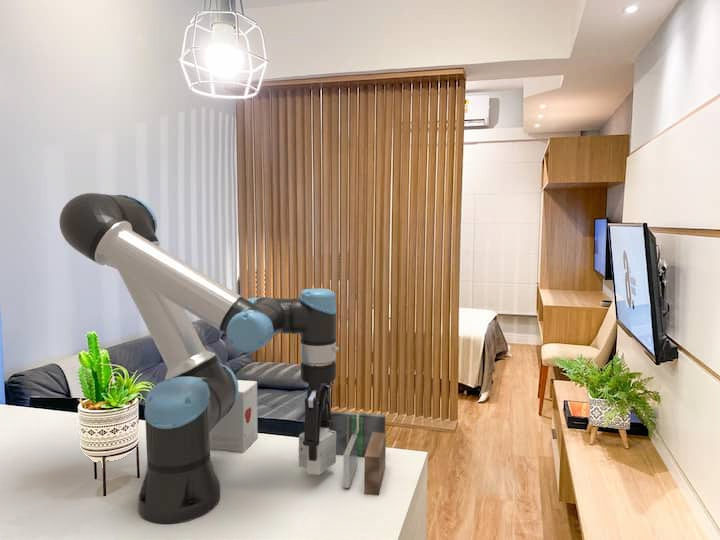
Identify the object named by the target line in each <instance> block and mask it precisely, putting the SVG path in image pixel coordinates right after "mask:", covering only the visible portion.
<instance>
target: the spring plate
mask: <svg viewBox="0 0 720 540" xmlns="http://www.w3.org/2000/svg"><path fill="white" fill-rule="evenodd" d="M359 432H360V428H359V414H357V427H356V430H355V432H354V435H352V436H351V438H350V441H349V443H348V445H347V448H346V450H345V453H344V455H343V488H347V489H348V488H350V486H351V484H352V481H353V477H354V475H355V473H356V472H355V471H356V469H357V467H358V456H357V437H358V434H359Z"/></svg>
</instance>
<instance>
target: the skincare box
mask: <svg viewBox="0 0 720 540" xmlns="http://www.w3.org/2000/svg"><path fill="white" fill-rule="evenodd" d="M304 432H305V431H303V432H301V433H300V434H299V435H298V468H302V469H305V470H307V446H305V445H303V442H304ZM319 443H321V473H320V475H321V474H323V473H324V472H326V470H329V468H330V467H332V466H334V465H335V464H336V457H337V455H336V431H332V430H330V429H329V430H328V429H326V428H320V437H319Z"/></svg>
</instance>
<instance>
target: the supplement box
mask: <svg viewBox="0 0 720 540" xmlns="http://www.w3.org/2000/svg"><path fill="white" fill-rule="evenodd" d="M237 382H238V396H237V399H236V401H235V403H234V405H233V407H232V408H231V410H230V411H229V413H228V414H227V415H226V416H224V417H223V418H222V419H221V420H220V421H219V422H218V423H217V424H216V425H215V426H214V427H213V428H212V429H211V430H210V450H216V451H217V450H218V451H219V450H220V451H228V452H237V453H244V452H245V451H247V450H248V448H249V447H250V446H252V444H253V443H254V442H255V441H256V440H258V381H255V380H243V379H242V380H240V379H237Z"/></svg>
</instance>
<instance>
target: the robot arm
mask: <svg viewBox="0 0 720 540" xmlns="http://www.w3.org/2000/svg"><path fill="white" fill-rule="evenodd" d="M59 228H60V232H61V234H62V236H63V238H64V240H65V242H67V243H68V245H70V246H71V248H73V249H74V250H75V251H76V252H78V253H80V254H81V255H82V256H85V257H86V258H88V260H91V261H93V262H94V263H96V264H98V265H100V266H105V265H106V266H107V267H111V268H113V269H116V270H117V271H118V273H119V275H120V277H121V279H122V281H123V283H124V285H125V286H126V289H127V291H128V292H129V294H130V296H131V299H132V301H133V302H134V304H135V306H136V309H137V310H138V313H139V314H140V316H141V318H142V320H143V322H144V324H145V326H146V329H147V330H148V332H149V335H150V336H151V338H152V340H153V342H154V344H155V346H156V348H157V351H158V352H159V354H160V355H161V358H162V360H163V361H164V364H165V365H166V368H167V372H166V375H165V378H164V381H163V380H162V381H160V382H159V383H156V385H154V386H152V387H151V388H150V390H149V391H148V392H147V393H146V397H145V407H144V419H145V436H146V437H145V440H146V441H145V442H146V444H145V445H146V463H147V464H146V467H147V468H146V471H145V474H144V479H143V482H142V485H141V487H140V488H141V489H140V492H139V494H138V512H139V515H141V517H142V518H144V519H145V520H147V521H151V522H153V523H158V524H159V523H160V524H175V523H181V522H186V521H190V520H193V519H194V520H195V519H196V518H199V517H201V516H204V515H205V514H206V513H208V512H210V511H211V510H213V509H214V508H215V507H217V505H218V503H219V502H220V499H221V485H220V481H219V478H218V476H217V473H216V470H215V467H214V466H213V463H212V460H211V459H212V458H211V449H210V430H211V429H212V428H213V427H214V426H215V425H216V424H217V423H218V422H219V421H220V420H221V419H222V418H223V417H224V416H226V415H227V414H228V413H229V411H230V410H231V408H232V407H233V405H234V403H235V401H236V399H237V396H238V382H237V380H238V379H237V377H236V374H235V373H234V372H233V371H232V370H231V368H230V367H228V366H227V365H223V364H222V363H220V361H219V358H218V357H217V354H216V353H215V352H212V351H209V350H207V349H205V347H204V344H203V342H202V341H201V339H200V337H199V334H198V333H197V330H196V329H195V327H194V325H193V322H192V321H191V319H190V317H189V315H188V313H187V312H189V313H190V314H192V315H194V316H195V317H197V318H198V319H200V320H202V321H204V322H205V323H207V324H209V325H210V326H212V327H213V328H215V329H216V330H219V331H220V332H222V333H224V334H225V335H226V337H227V340H228V342H229V344H230V346H232V347H233V348H234V349H235V350H237V351H239V352H241V353H254V352H256V351H258V350H260V349H262V348H264V347H266V346H267V345H268V344H269V343H270V342H271V340H273V338H275V337H276V336H278V335H279V334H284V335H285V334H287V335H288V334H291V335H292V334H293V335H300V361H301V363H300V379H301V381H303V382H304V383H307V384H308V385H309V388H308V389H307V392H306V393H307V394H306V397H305V398H304V411H305V413H304V431H303V432H304V442H303V445H305V446H307V469H306V473H307V474H308V475H319V476H320V475H321V474H322V473H321V443H319V437H320V428H326V429H328V430H330V427H332V425H333V422H330V421H331V411H332V407H331V406H332V405H331V404H332V403H331V383H332V382H333V381H335V380H336V379H337V363H336V361H335V360H336V358H337V357H336V355H337V354H336V353H337V352H339V347H338V346H336V345H337V343H336V342H337V313H338V311H337V304H336V302H337V300H336V293H335V292H334V291H333V290H331V289H328V288H321V287H320V288H319V287H318V288H306V289H305V288H304V289H303V290H301V291H300V296H299V297H297V298H279V297H264V296H261V297H250V298H249V297H248V299H246V298H244V297H243V296H242V295H240V294H238V293H236V292H235V291H233V290H232V289H230V288H229V287H227V286H225V285H224V284H221V283H220V282H218V281H217V280H215V279H213V277H210V276H209V275H207V274H205V273H203V272H202V271H200V270H198V269H197V268H196V267H193V266H192V265H190V264H189V263H187V262H185V261H183V260H181V258H178V257H177V256H175V255H174V254H172V253H170V252H169V251H167V250H165V249H163V248H162V247H160V244H161V243H160V240H159V239H158V236H157V235H156V233H157V229H158V222H157V217H156V215H155V213H154V211H153V210H152V208H151V207H150V206H149V205H148V204H147V202H146V203H145V202H144V200H140V199H139V198H136V197H133V196H129V195H126V194H114V195H113V194H105V193H97V192H96V193H95V192H88V193H86V192H85V193H81V194H79V195H77V196H75V197H73V198H71V199H69V201H68V202H67V203H66V204H65V205H64V207H63V208H62V210H61V212H60V215H59ZM320 473H321V474H320Z"/></svg>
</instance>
